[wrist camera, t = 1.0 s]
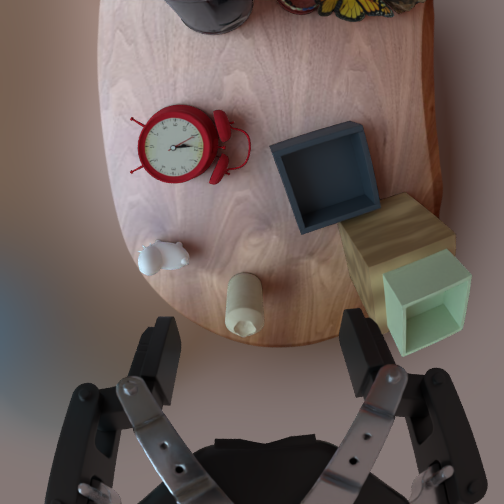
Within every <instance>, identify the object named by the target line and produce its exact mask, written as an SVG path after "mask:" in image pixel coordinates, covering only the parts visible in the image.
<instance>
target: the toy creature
mask: <svg viewBox="0 0 504 504" xmlns="http://www.w3.org/2000/svg"><path fill="white" fill-rule="evenodd" d="M142 246H143V245H142ZM182 246H183V245H182V243H181V242H177V243H176V244H174V243H170V242H161V241H160V240H156V241H155V243H154V244H152V245H151V244H150V246H148V247H145V246H143V248H144V249H143V250H142V251H138V252H140V255H139V258H138V265H139V269H140V271H141V272H142V273H143V274H145V275H148V276H149V275H154V274H156V273H157V272H159V271H160V269H166V270H173V269H179V268H181V267H184V266H185V265H186V264H188V265H189V263H188V261H189V254H188V252H187V251H186V250H185V249H184V248H183V247H182Z"/></svg>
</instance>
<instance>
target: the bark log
mask: <svg viewBox="0 0 504 504" xmlns="http://www.w3.org/2000/svg"><path fill="white" fill-rule="evenodd" d="M384 1H385V2H386V3H388V4H389V5H390V6H391V7H392V8H393V9H394V11H396V12H397V13H398V14H400V13H402V12H405V11H410V10H411V9H412V8H413V7H414V6H415V4H418V3H419V2H422V3H424V2H425V1H426V0H384Z"/></svg>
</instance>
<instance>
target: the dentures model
mask: <svg viewBox="0 0 504 504" xmlns="http://www.w3.org/2000/svg"><path fill="white" fill-rule="evenodd" d="M277 2H278V3H279V4H280V5H281V6H282V7H283V8H284V9H285V10H287V11H289V12H291V13H294V14H299V15H303V14H308V13H311V12H312V11H314V10H315V8H316V7H317V5H318V4H317V3H316V2H315V1H314V0H277Z"/></svg>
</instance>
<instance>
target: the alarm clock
mask: <svg viewBox="0 0 504 504" xmlns="http://www.w3.org/2000/svg"><path fill="white" fill-rule="evenodd" d="M213 113H214V119H215V123H216V127H217V130H218V134H219V136H220V137H218V134H217V130H216V128H215V125H214V124H213V122H212V120H211V119H210V118H209V117H208V116H207V115H206V114H205V113H204V112H202V111H201V110H199V109H197V108H195V107H192V106H189V105H173V106H169V107H166V108H163V109H161V110H160V111H158V112H157V113H155V114H154V115H153V116H152V117H151V118H150V119H149V121H148V122H147V124H146V125H144V124H142V123H140V122H138V121H136V120H135V119H134V118H133V117H131V119H130V120H131V121H132V120H133V121H135V122H136V123H138V124H139V125H141V126H142V127H144V128H143V129H142V131H141V134H140V136H139V140H138V155H139V159H140V162H141V164H142V166H140V167H138V168H137V169H135V170H133V171H132V170H131V171H130V173H131V174H132V173H133V172H134V171H136V170H138V169H141V168H143V167H144V169H145V170H146V171H147V172H148V173H149V174H150V175H151V176H152V177H154V178H156V179H157V180H160V181H162V182H166V183H182V182H186V181H189V180H191V179H193V178H195V177H197V176H199V175H201V174H202V173H204V172H205V171H206V170H207V169H208V168H209V167H210V165H211V164H212V162H213V161H214V159H215V157H219V156H216V154H217V151H218V148H223V149H224V150H225V149H226V146H223V147H220V146H218V138H220V139H221V141H222V142H226V141H228V140H229V139H230V137H231V129H234V130H238V131H241V132H243V133H245V135H246V136H247V138H248V142H249V150H248V156H247V159H246V161H245V162H244V163H243V164H242V165H241V166H239V167H235V168H228V169H227V167H228V163H229V159H228V156H227V155H225V154H223V153H222V154H221V156H220V157H219V160H218V163H217V165H216V167H215V169H214V171H213V174H212V176H211V178H210V181H209V183H210V184H213V185H214V184H217V183H219V182H220V181H221V179H222V178H223V176H224V174H227V175H230V173H228V172H227V171H228V170H234V169H239V168H241V167H243V166H244V165H245V164H246V163H247V161H248V159H249V156H250V151H251V142H250V138H249V135H248V134H247V133H246V132H245V131H244V130H241V129H238V128H233V127H231V125H230V124H234V121H232V122H229V120H228V118H227V116H226V114H225V112H223V111H222V110H215V111H213Z"/></svg>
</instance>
